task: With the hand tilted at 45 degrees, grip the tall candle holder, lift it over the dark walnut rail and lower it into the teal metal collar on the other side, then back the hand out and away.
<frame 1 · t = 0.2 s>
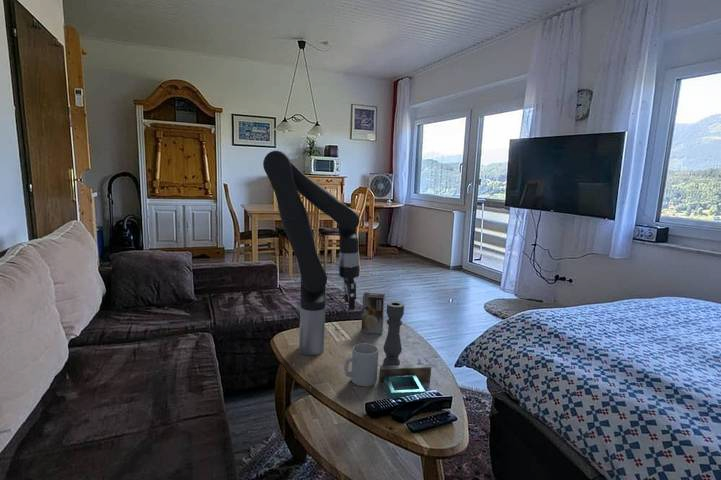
hand: (349, 305, 152), 18 cm above the table, tool pointing down, fingers open, 8 cm apart
candle holder: (390, 374, 138), on the table
mug: (359, 381, 132), on the table
key chain: (415, 369, 143), on the table
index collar: (403, 393, 126), on the table
coffee box: (372, 331, 175), on the table
door edge rail: (404, 381, 133), on the table
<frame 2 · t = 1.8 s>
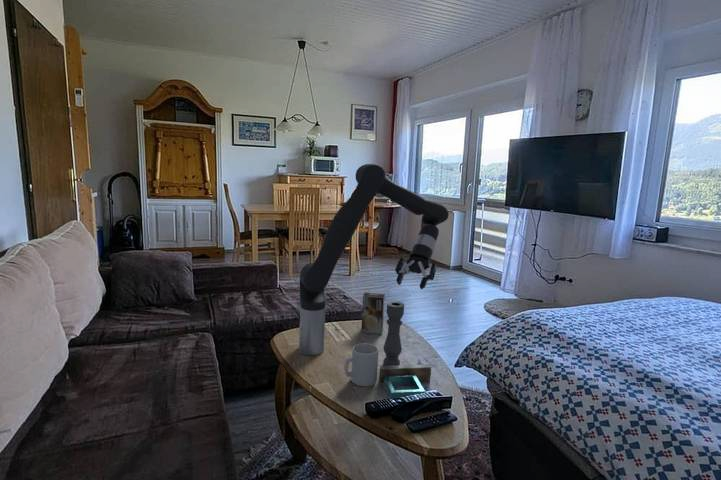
hand: (409, 285, 143), 29 cm above the table, tool tilted 45°, fingers open, 8 cm apart
nothing on the table moved.
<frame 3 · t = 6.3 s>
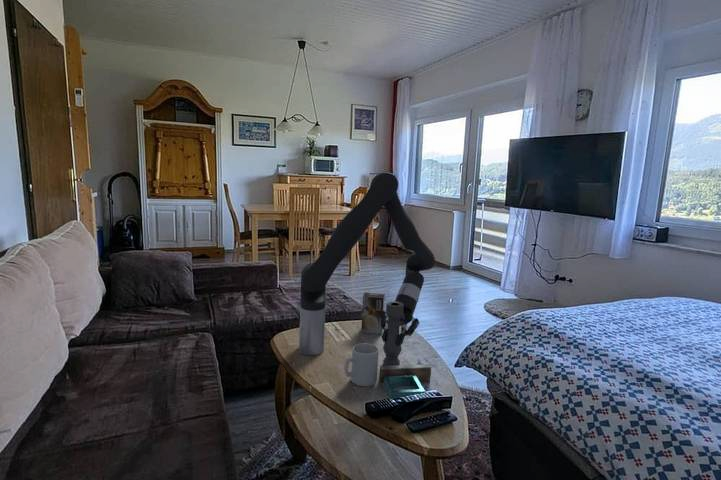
hand: (391, 342, 134), 12 cm above the table, tool tilted 45°, fingers closed on candle holder, 4 cm apart
candle holder: (390, 374, 138), on the table, touching gripper
everything else where it was.
when the fingers open (13 cm above the table, at t = 12.8 s): candle holder drops 1 cm, resting in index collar.
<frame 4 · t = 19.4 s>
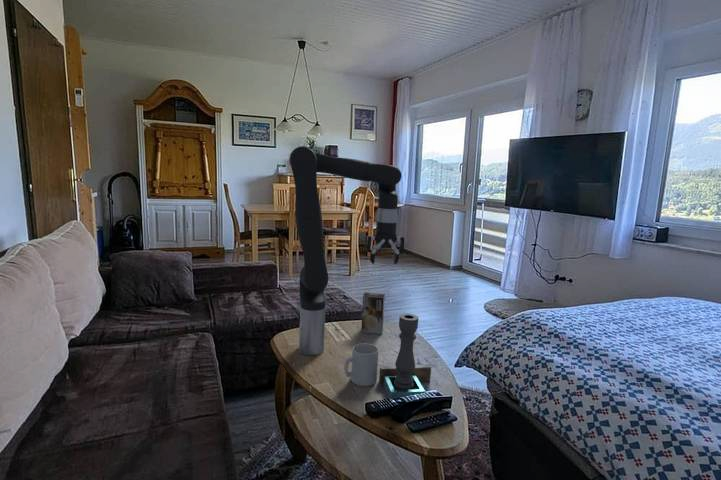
hand: (384, 263, 151), 34 cm above the table, tool pointing down, fingers open, 8 cm apart
candle holder: (403, 393, 127), resting in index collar
everything else where it was.
at the end: candle holder 0.3 cm off-centre on the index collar, point 0.0 cm above the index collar's base; candle holder tilted 0°; the gripper is holding nothing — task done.
